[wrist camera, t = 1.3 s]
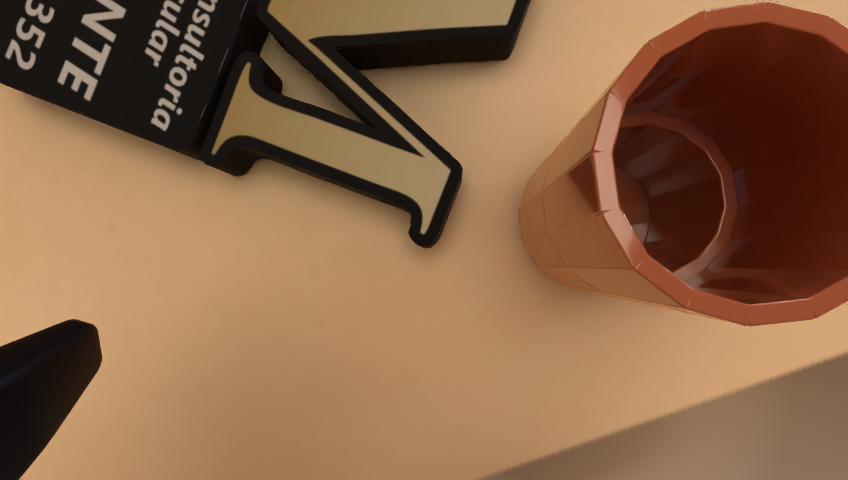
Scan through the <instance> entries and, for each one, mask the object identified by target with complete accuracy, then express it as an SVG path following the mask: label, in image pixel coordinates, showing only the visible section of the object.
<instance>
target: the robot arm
mask: <svg viewBox="0 0 848 480" xmlns="http://www.w3.org/2000/svg"><path fill="white" fill-rule="evenodd" d="M101 362H102V353H101V347H100V341H99V335H98V330H97V328H96V327H95V326H94V325H93V324H90V323H86V322H83V321H80V320H76V319H71V320H67V321H64V322H62V323H59V324H56V325H54V326H51V327H49V328H46V329H44V330H41V331H39V332H36V333H34V334H31V335H29V336H26V337H23V338H21V339H18V340H16V341H13V342H11V343H8V344H6V345H3V346H1V347H0V480H19V479H20V477H21V476H22V475H23V474H24V473H25V471H26V470H27V469H28V468H29V467H30V465H31V464H32V463H33V462H34V461H35V459H36V458H37V457H38V456H39V454H40V453H41V452H42V451H43V449H44V448H45V447H46V446H47V444H48V443H49V441H50V440H51V439H52V437H53V436H54V435H55V433H56V432H57V430H58V429H59V427H60V426H61V424H62V423H63V421H64V420H65V418H66V417H67V415H68V414H69V413H70V411H71V410H72V408H73V407H74V405H75V404H76V402H77V401H78V399H79V398H80V396H81V395H82V393H83V392H84V390H85V389H86V388H87V386H88V385H89V383H90V382H91V380H92V379H93V377H94V376H95V374H96V373H97V371H98V370H99V367H100V365H101Z"/></svg>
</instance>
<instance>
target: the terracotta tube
mask: <svg viewBox="0 0 848 480" xmlns="http://www.w3.org/2000/svg"><path fill="white" fill-rule="evenodd" d="M519 218H520V226H521V234H522V240H523V243H524V244H525V246H526V248H527V250H528V251H529V253H530V255H531V257H532V258H533V260H534V262H535V264H536V265H537V266H538V267H539V268H540V269H541V270H543V271H544V272H545V273H547V274H548V275H549V276H550V277H552V278H553V279H554V280H556V281H557V282H558V283H560V284H561V285H564V286H568V287H571V288H575V289H579V290H582V291H586V292H590V293H594V294H599V295H604V296H608V297H613V298H618V299H622V300H627V301H632V302H636V303H641V304H646V305H650V306H655V307H660V308H664V309H669V310H674V311H679V312H683V313H688V314H693V315H697V316H702V317H707V318H711V319H716V320H721V321H725V322H730V323H735V324H739V325H744V326H757V325H766V324H775V323H784V322H794V321H803V320H812V319H814V318H818V317H819V316H821V315H823V314H825V313H827V312H828V311H830V310H832V309H834V308H836V307H838V306H839V305H841V304H843V303H845V302H847V301H848V29H847V28H846V27H844V26H843V25H841V24H840V23H839V22H837V21H836V20H834V19H833V18H829V17H828V16H825V15H821V14H816V13H812V12H808V11H804V10H800V9H795V8H791V7H787V6H783V5H779V4H775V3H770V2H767V3H766V2H761V3H754V4H746V5H739V6H732V7H725V8H718V9H711V10H704V11H702V12H699V13H697V14H695V15H693V16H692V17H690V18H688V19H686V20H684V21H683V22H681V23H679V24H677V25H676V26H674V27H672V28H670V29H669V30H667V31H665V32H663V33H662V34H660V35H658V36H656V37H655V38H653V39H651V40H649V41H648V42H647V43H646V44H644V46H643V47H642V48H641V49H640V50H639V51H638V53H637V54H636V55H635V56H634V57H633V58H632V60H631V61H630V62H629V63H628V64H627V65H626V67H625V68H624V69H623V70H622V71H621V72H620V74H619V75H618V76H617V77H616V78H615V79H614V81H613V82H612V83H611V84H610V85H609V86H608V87H607V89H606V90H605V91H604V92H603V93H602V94H601V96H600V97H599V98H598V99H597V100H596V101H595V103H594V104H593V105H592V106H591V107H590V108H589V110H588V111H587V112H586V113H585V114H584V115H583V117H582V118H581V119H580V120H579V121H578V122H577V124H576V125H575V126H574V127H573V128H572V129H571V131H570V132H569V133H568V134H567V135H566V136H565V138H564V139H563V140H562V141H561V142H560V143H559V145H558V146H557V147H556V148H555V149H554V150H553V152H552V153H551V154H550V155H549V156H548V157H547V159H546V160H545V161H544V162H543V163H542V165H541V166H540V167H539V168H538V170H537V171H536V172H535V173H534V175H533V176H532V177H531V179H530V180H529V181H528V182H527V185H526V187H525V191H524V194H523V198H522V201H521V205H520V209H519Z"/></svg>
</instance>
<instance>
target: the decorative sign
mask: <svg viewBox="0 0 848 480" xmlns="http://www.w3.org/2000/svg"><path fill="white" fill-rule="evenodd" d="M530 1H531V0H0V83H1V84H4V85H6V86H9V87H11V88H14V89H16V90H19V91H22V92H24V93H27V94H29V95H32V96H34V97H37V98H39V99H42V100H45V101H48V102H50V103H53V104H55V105H58V106H60V107H63V108H66V109H68V110H71V111H73V112H76V113H79V114H81V115H84V116H86V117H89V118H91V119H94V120H97V121H99V122H102V123H104V124H107V125H110V126H112V127H115V128H117V129H120V130H122V131H125V132H128V133H130V134H133V135H135V136H138V137H141V138H143V139H146V140H148V141H151V142H153V143H156V144H159V145H161V146H164V147H166V148H169V149H172V150H174V151H177V152H179V153H182V154H184V155H187V156H190V157H192V158H195V159H198V160H201V161H203V162H204V163H205V164H207V165H209V166H211V167H214V168H216V169H219V170H221V171H224V172H226V173H229V174H232V175H234V176H241V175H244V174H246V173H247V172H248V170H249V169H250V168H251V166H252V165H253V163H254V162H255V161H256V160H258V159H269V160H273V161H276V162H279V163H282V164H284V165H287V166H289V167H291V168H294V169H296V170H298V171H301V172H303V173H306V174H308V175H311V176H314V177H316V178H319V179H322V180H325V181H327V182H330V183H333V184H336V185H338V186H341V187H343V188H346V189H349V190H351V191H354V192H357V193H359V194H362V195H365V196H367V197H370V198H373V199H375V200H378V201H380V202H383V203H386V204H389V205H392V206H395V207H398V208H400V209H403V210H405V211H407V212H408V213H410V214H411V223H410V224H411V226H410V229H409V235H410V237H411V239H412V240H413V241H414V242H415V243H416V244H417V245H419V246H421V247H423V248H430V247H432V246H433V245H435V244H436V243H437V241H438V240H439V238H440V236H441V234H442V231H443V229H444V226H445V223H446V221H447V218H448V216H449V213H450V210H451V208H452V205H453V203H454V200H455V197H456V195H457V192H458V190H459V187H460V185H461V182H462V166H461V165H460V163H459V162H458V161H457V160H456V159H454V158H453V157H452V156H451V154H450V153H449V152H447V151H446V150H445V149H444V148H442V147H441V146H440V145H439V144H438V143H437V142H436V141H435V140H434V139H432V138H431V137H430V136H429V135H428V134H427V133H426V132H425V131H424V130H423V129H422V128H421V127H419V126H418V125H417V124H416V123H415V122H414V121H413V120H412V119H411V118H410V117H409V116H408V115H407V114H405V113H404V112H403V111H402V110H401V109H400V108H399V107H398V106H397V105H396V104H395V103H394V102H392V101H391V100H390V99H389V98H388V97H387V96H386V95H385V94H384V93H383V92H381V91H380V90H379V89H378V88H377V87H375V86H374V85H373V84H372V83H371V82H370V81H369V80H368V79H367V78H366V77H365V76H364V75H362V74H361V73H360V72H359V71H358V70H357V69H367V68H381V67H395V66H410V65H424V64H434V63H438V64H440V63H451V62H476V61H491V60H494V61H495V60H497V61H498V60H505V59H507V58H509V56H510V55H511V53H512V50H513V48H514V46H515V43H516V40H517V37H518V34H519V31H520V28H521V26H522V23H523V20H524V17H525V15H526V12H527V9H528V6H529V4H530ZM267 30H269V31H270V32H271V34H272V35H273V36H274V37H275V39H276V40H277V41H278V42H279V44H280V45H281V46H282V47H283V48H284V49H285V50H287V51H288V52H289V53H290V54H291V55H292V56H293V57H294V58H295V59H296V60H298V61H299V62H300V63H301V64H302V65H303V66H304V67H305V68H306V69H307V70H308V71H309V72H311V73H312V74H313V75H314V76H315V77H316V78H317V79H318V80H320V81H321V82H322V83H323V84H324V85H325V86H326V87H327V88H328V89H329V90H330V91H332V92H333V93H334V94H335V95H336V96H337V97H338V99H339V100H341V101H342V102H343V103H344V104H345V105H346V106H347V107H348V108H349V109H350V110H352V111H353V112H354V113H355V114H356V115H357V116H358V117H359V118H360V119H361V120H362V121H363V122H364V123H365V124H366V125H364V124H362V123H359V122H356V121H354V120H351V119H349V118H346V117H344V116H341V115H338V114H336V113H333V112H331V111H328V110H325V109H322V108H320V107H317V106H314V105H311V104H307V103H304V102H301V101H298V100H295V99H292V98H289V97H286V96H284V95H281V94H280V93H281V89H282V81H281V80H280V78H279V77H278V76H277V75H276V73H275V72H274V71H273V70H272V69H271V68H270V67H269V66H268V65H267V64H266V63H265V62H264V61H263V60H262V59H261V58H260V57H259V56H258V53H259V51H260V48H261V46H262V43H263V40H264V38H265V35H266V33H267Z"/></svg>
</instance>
